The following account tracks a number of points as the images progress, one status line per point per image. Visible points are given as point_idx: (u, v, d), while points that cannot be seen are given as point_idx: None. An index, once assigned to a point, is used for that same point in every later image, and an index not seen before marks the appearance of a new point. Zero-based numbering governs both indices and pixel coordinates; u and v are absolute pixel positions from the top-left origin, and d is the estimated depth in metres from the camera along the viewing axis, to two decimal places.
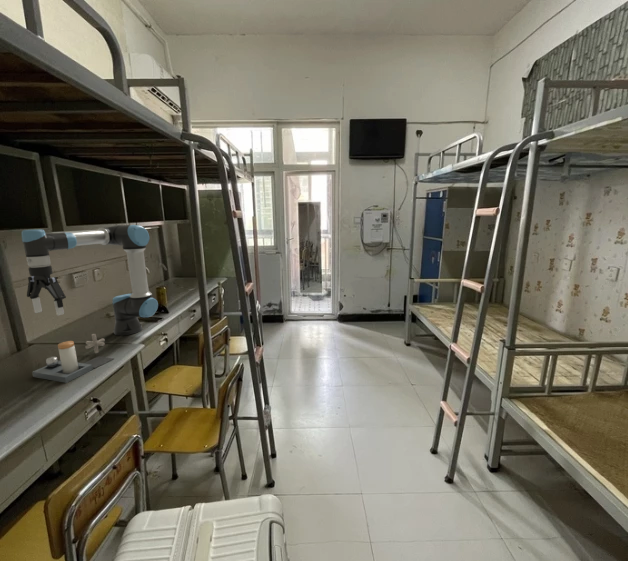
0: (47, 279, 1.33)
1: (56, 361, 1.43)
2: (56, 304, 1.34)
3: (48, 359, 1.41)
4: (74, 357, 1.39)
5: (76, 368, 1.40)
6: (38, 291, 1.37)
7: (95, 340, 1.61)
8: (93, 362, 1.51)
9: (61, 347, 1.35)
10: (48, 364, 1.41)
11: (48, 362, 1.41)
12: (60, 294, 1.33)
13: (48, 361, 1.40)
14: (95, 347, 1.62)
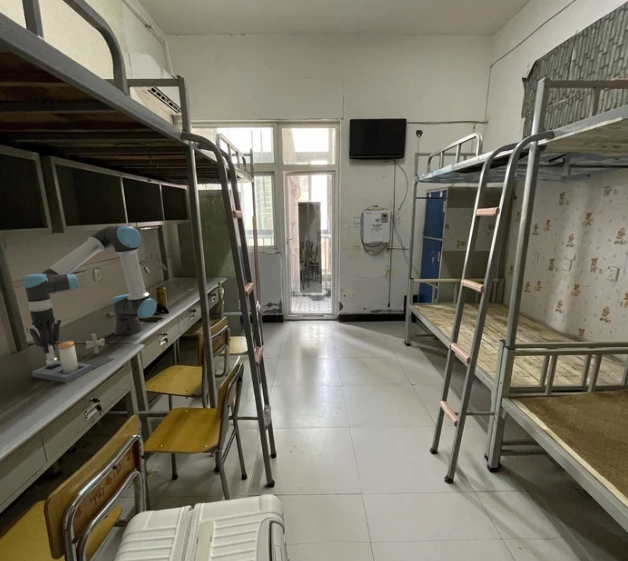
0: None
1: (56, 362, 1.43)
2: None
3: (48, 360, 1.41)
4: (74, 357, 1.39)
5: (76, 368, 1.40)
6: (49, 335, 1.40)
7: (95, 340, 1.61)
8: (93, 362, 1.51)
9: (61, 347, 1.35)
10: (48, 365, 1.41)
11: (48, 363, 1.41)
12: (37, 343, 1.37)
13: (48, 362, 1.41)
14: (95, 347, 1.62)
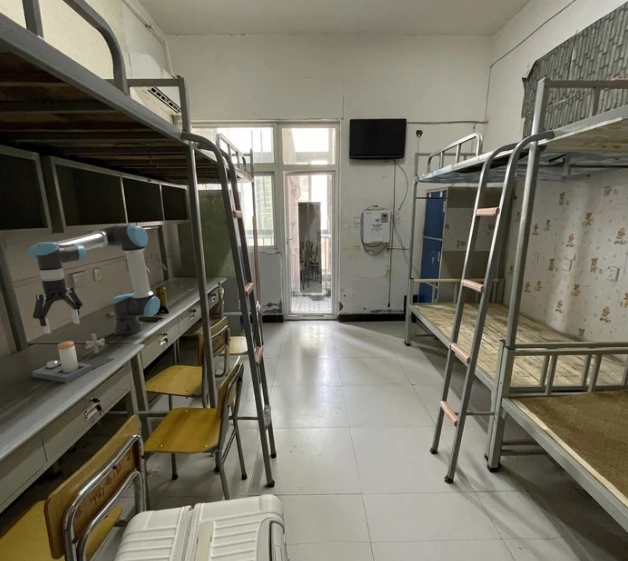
0: (43, 294, 1.29)
1: (57, 365, 1.43)
2: None
3: (49, 363, 1.42)
4: (74, 357, 1.39)
5: (76, 368, 1.40)
6: (69, 303, 1.38)
7: (95, 340, 1.61)
8: (93, 362, 1.51)
9: (61, 347, 1.35)
10: (49, 368, 1.41)
11: (49, 366, 1.41)
12: (35, 313, 1.26)
13: (49, 365, 1.41)
14: (95, 347, 1.62)
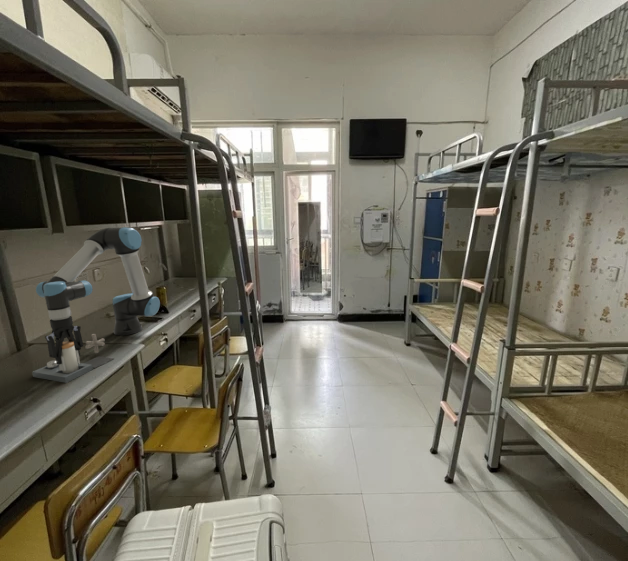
0: (52, 333, 1.33)
1: (57, 365, 1.43)
2: None
3: (49, 363, 1.42)
4: (74, 357, 1.39)
5: (76, 368, 1.40)
6: None
7: (95, 340, 1.61)
8: (93, 362, 1.51)
9: None
10: (49, 368, 1.41)
11: (49, 366, 1.41)
12: (50, 353, 1.32)
13: (49, 365, 1.41)
14: (95, 347, 1.62)
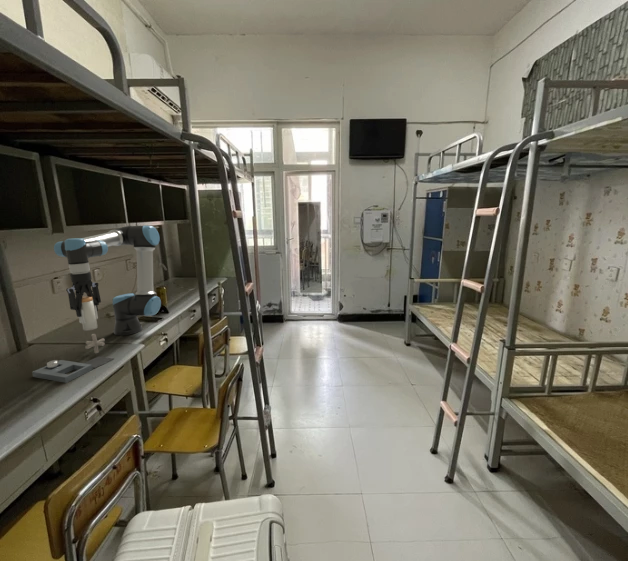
0: None
1: (57, 365, 1.43)
2: None
3: (49, 363, 1.42)
4: (93, 311, 1.46)
5: (94, 322, 1.47)
6: None
7: (95, 340, 1.61)
8: (93, 362, 1.51)
9: None
10: (49, 368, 1.41)
11: (49, 366, 1.41)
12: (71, 305, 1.39)
13: (49, 365, 1.41)
14: (95, 347, 1.62)
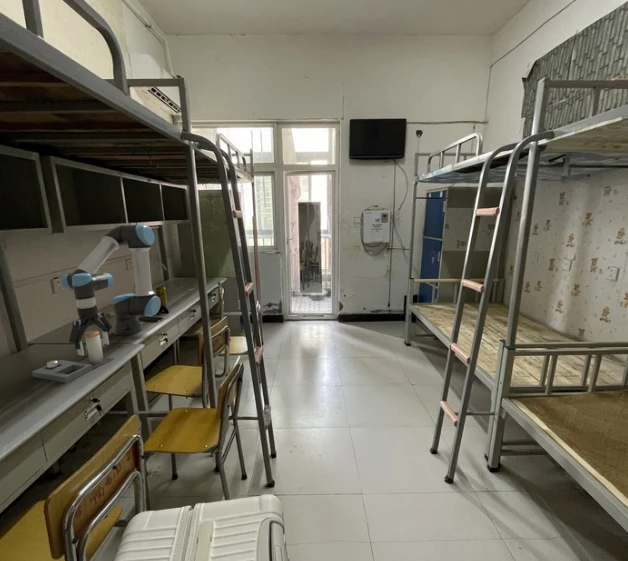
0: None
1: (57, 365, 1.43)
2: None
3: (49, 363, 1.42)
4: (99, 345, 1.50)
5: (101, 356, 1.51)
6: (100, 326, 1.52)
7: None
8: None
9: (88, 336, 1.46)
10: (49, 368, 1.41)
11: (49, 366, 1.41)
12: (71, 338, 1.40)
13: (49, 365, 1.41)
14: None
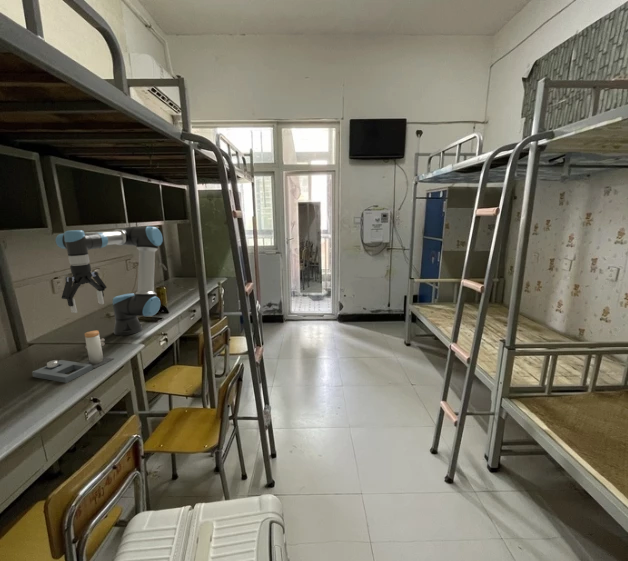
0: None
1: (57, 365, 1.43)
2: None
3: (49, 363, 1.42)
4: (99, 345, 1.50)
5: (101, 355, 1.51)
6: (95, 285, 1.51)
7: None
8: None
9: (88, 336, 1.46)
10: (49, 368, 1.41)
11: (49, 366, 1.41)
12: (63, 294, 1.38)
13: (49, 365, 1.41)
14: None
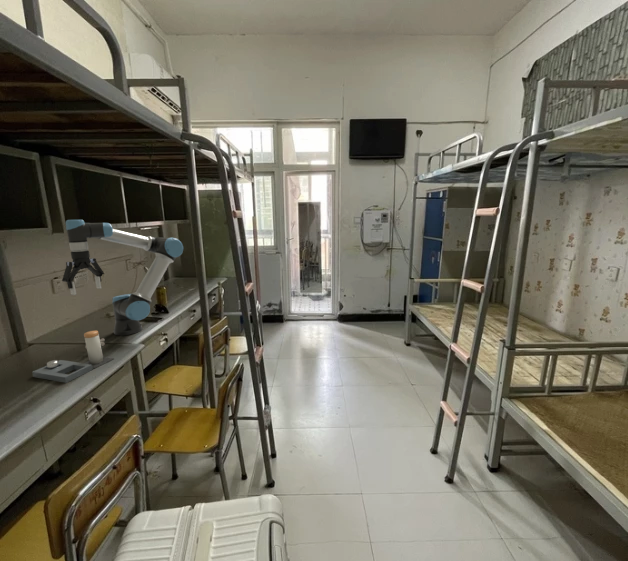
0: None
1: (57, 365, 1.43)
2: None
3: (49, 363, 1.42)
4: (99, 345, 1.50)
5: (101, 355, 1.51)
6: (93, 271, 1.64)
7: None
8: None
9: (87, 336, 1.46)
10: (49, 368, 1.41)
11: (49, 366, 1.41)
12: (64, 277, 1.51)
13: (49, 365, 1.41)
14: None
